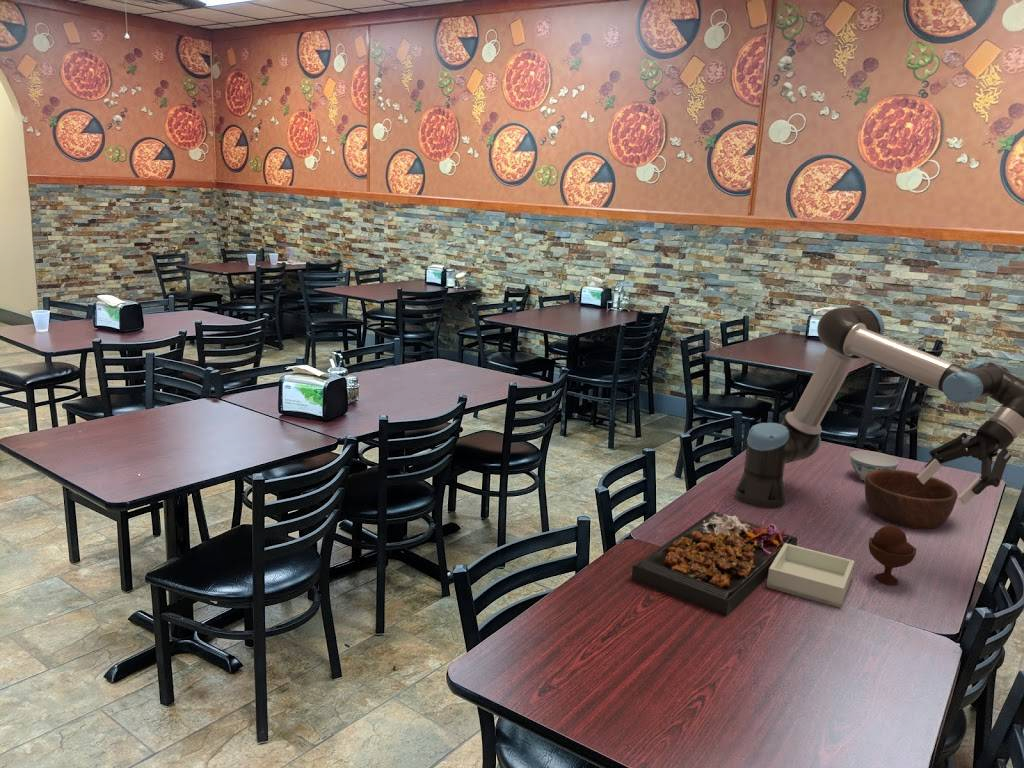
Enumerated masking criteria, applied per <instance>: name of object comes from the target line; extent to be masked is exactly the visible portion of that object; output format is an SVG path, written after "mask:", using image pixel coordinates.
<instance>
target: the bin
mask: <svg viewBox="0 0 1024 768" xmlns="http://www.w3.org/2000/svg"><path fill="white" fill-rule="evenodd" d="M854 567H855V560H853V559H850V558H849V559H848V558H845V557H841V556H837V555H834V554H830V553H826V552H822V551H818V550H813V549H810V548H806V547H802V546H798V545H797V546H795V545H791V544H787V543H784V545H783V547H782V548H781V550H780V551H779V553H778V555H777V556H776V558H775V560H774V561H773V563H772V564H771V566H770V568H769V572H768V577H767V581H766V588H768V589H771V590H775V591H778V592H779V591H780V592H783V593H787V594H789V595H793V596H796V597H800V598H804V599H807V600H811V601H814V602H817V603H821V604H825V605H829V606H833V607H834V608H835V607H836V608H840V609H841V608H842V606H843V605H842V604H843V603H844V600H845V597H846V594H847V592H848V589H849V587H850V584H851V581H852V579H853V572H854Z"/></svg>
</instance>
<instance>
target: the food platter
mask: <svg viewBox="0 0 1024 768" xmlns="http://www.w3.org/2000/svg"><path fill="white" fill-rule="evenodd" d="M766 521H767V518H766V517H765V518H764V520H763V521H762V523H761V524H760V525H761V526H760V525H757V524H755V523H750V522H748V521H744V520H741V519H739V517H737V516H736V515H733V516H732V515H731V516H730V515H727V514H725V513H724V514H722V513H719V512H715V511H711V512H709V513H707V515H705V516H704V517H702V518H701V519H700V520H698V521H697V522H695V523H694V524H691V525H690V526H689V527H687V528H686V529H685V530H684V531H682V532H680V533H679V534H677V535H676V536H675V537H673V538H672V539H670V540H669V541H667V542H666V543H664V544H663V545H661V546H660V547H658V548H657V549H655V550H654V551H653V552H651V553H650V554H648V555H647V556H645V557H644V558H642V559H640V560H639V561H638V562H636V563H635V564H633V566H632V570H631V581H633V582H636V583H639V584H641V585H644V586H647V587H649V588H652V589H654V590H657V591H660V592H662V593H665V594H667V595H671V596H672V597H675V598H677V599H681V600H683V601H685V602H688V603H690V604H694V605H696V606H699V607H701V608H704V609H706V610H709V611H712V612H714V613H717V614H719V615H721V616H725V617H728V615H730V614H731V612H733V611H734V610H735V609H736V608H737V607H738V606H739V605H740V604H741V603H742V602H743V601H745V599H747V597H749V595H751V593H752V592H753V593H754V591H755V590H756V589H757V588H758V587H759V586H760V585H761V584H763V582H765V580H766V579H768V572H769V568H770V566H771V564H772V563H773V561H774V560H775V558H776V556H777V555H778V553H779V551H780V550H781V548H782V547H783V545H784V543H787V544H791V545H795V546H798V537H796V536H794V535H793V536H792V535H791V534H787V533H786V532H785V531H786V529H787V526H788V523H787V524H785V525H784V528H783V530H782V531H780V530H779V529H778V526H776V525H775V524H774V523H771V524H767V526H766V527H765V526H764V525H765V523H766Z"/></svg>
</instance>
